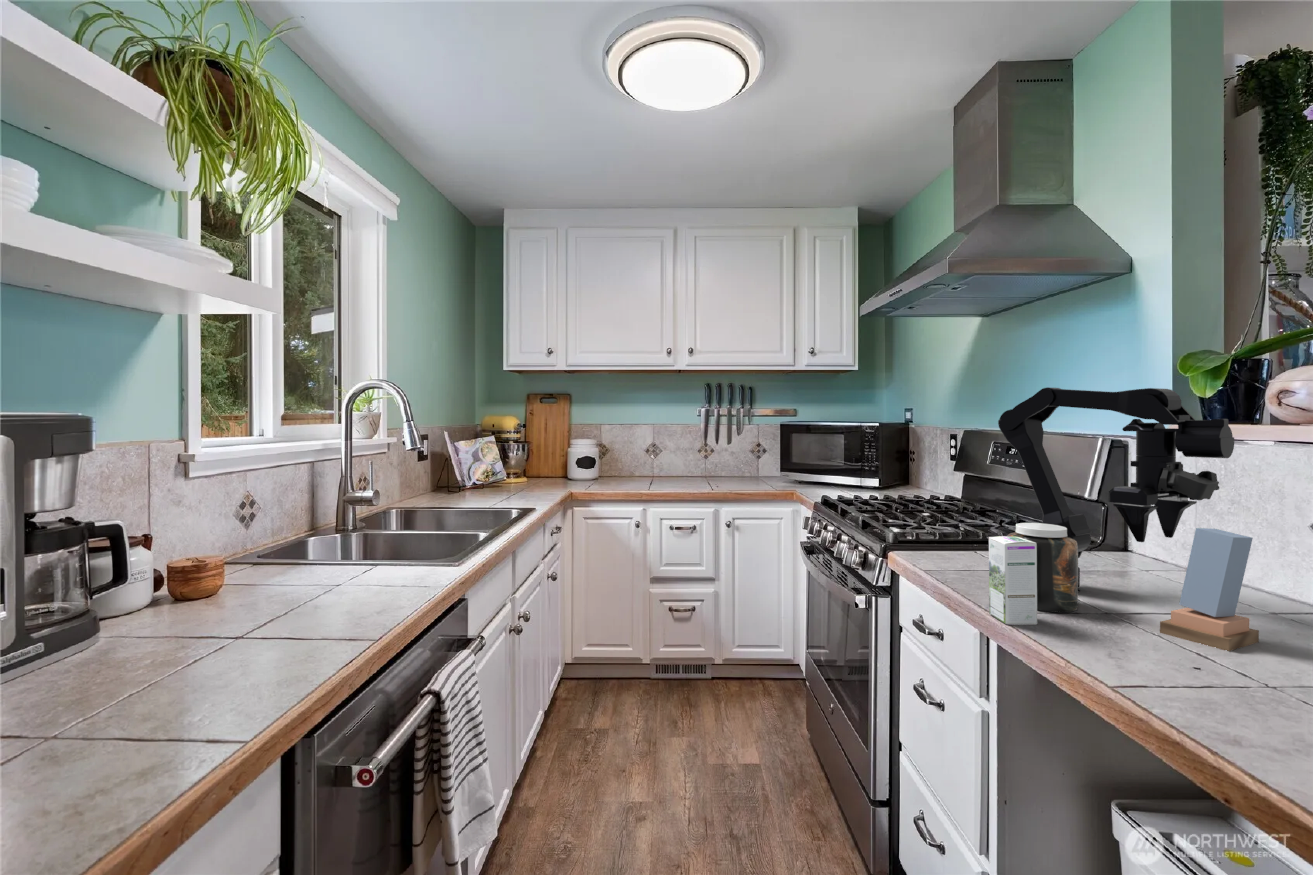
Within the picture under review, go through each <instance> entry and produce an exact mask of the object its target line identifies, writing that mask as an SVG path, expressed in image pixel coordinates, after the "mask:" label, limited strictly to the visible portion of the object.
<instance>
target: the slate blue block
mask: <svg viewBox="0 0 1313 875" xmlns="http://www.w3.org/2000/svg"><path fill="white" fill-rule="evenodd" d="M1252 543H1253V537H1252V536H1247V535H1244V534H1243V535H1242V534H1239V533H1235V532H1230V531H1227V530H1226V531H1225V530H1222V529H1217V528H1208V527H1207V528H1204V527H1203V528H1201V527H1200V528H1199V527H1197V528H1196V527H1195V530H1194V536H1193V540H1192V545H1191V550H1190V552H1189V553H1190V554H1189V559H1188V564H1187V568H1186V571H1185V577H1184V579H1183V580H1184V581H1183V585H1182V590H1181V595H1180V600H1179V603H1178V604H1179V605H1180V606H1182V607H1184V608H1191V609H1194V610H1196V611H1199V612H1202V613H1205V614H1208V615H1211V616H1213V617H1227V616H1235V615H1236V611H1237V608H1238V602H1239V598H1240V593H1241V591H1242V590H1241V589H1242V585H1243V581H1244V577H1245V573H1246V568H1247V564H1248V559H1249V556H1250V551H1251V547H1252Z"/></svg>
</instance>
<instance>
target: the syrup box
mask: <svg viewBox="0 0 1313 875" xmlns="http://www.w3.org/2000/svg"><path fill="white" fill-rule="evenodd" d="M988 598H989V599H988V600H989V603H988V609H989V610H988V612H989V614H988V615H990V616H991V617H993V618H994V619H997V620H998V621H1000V622H1001V623H1003V624H1005V625H1013V626H1018V625H1019V626H1025V625H1026V626H1029V625H1030V626H1032V625H1038V610H1037V543H1035V542H1032V541H1029V540H1026V539H1023V538H1020V537H1015V536H1007V535H1001V536H989V537H988Z"/></svg>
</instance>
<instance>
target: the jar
mask: <svg viewBox="0 0 1313 875" xmlns="http://www.w3.org/2000/svg"><path fill="white" fill-rule="evenodd" d="M1006 536H1015V537H1020V538H1023V539H1026V540H1029V541H1032V542H1035V543H1037V611H1040V612H1046V613H1048V612H1049V613H1070V612H1071V613H1072V612H1075V611H1078V607H1079V592H1078V588H1079V587H1078V567H1079V558H1078V545H1077V542H1076V540H1074V539H1072V538H1070V537H1067V536H1068V535H1067V528H1066V527H1063V526H1058V525H1052V524H1043V522H1042V523H1041V522H1040V523H1039V522H1020V523H1016V524H1015V532H1011V533H1008V534H1007V535H1006Z"/></svg>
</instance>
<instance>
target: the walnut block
mask: <svg viewBox="0 0 1313 875" xmlns="http://www.w3.org/2000/svg"><path fill="white" fill-rule="evenodd" d="M1159 633H1160V634H1162V635H1166V636H1170V637H1174V638H1179V639H1181V640H1185V641H1188V642H1193V643H1196V644H1199V643H1201V644H1200V645H1203V644H1204V646H1207V645H1208V646H1207V647H1211V648H1214V647H1216V648H1215V649H1218V650H1222V651H1225V650H1227V651H1226V652H1232V651H1234V650H1238V649H1240V647H1242V648H1244V647H1248V646H1251V645H1254V644H1258V643H1259V641H1260V637H1259V636H1260V635H1259V634H1260V631H1259V630H1258V629H1254V628H1251V627H1249V631H1246V632H1241V633H1237V634H1233V635H1229V636H1224V637H1222V636H1219V635H1215V634H1211V633H1207V632H1203V631H1200V630H1196V629H1192V628H1188V627H1185V626H1181V625H1177V624H1173V623H1171V618H1170V619H1165V620H1162V621H1160V622H1159ZM1237 648H1238V649H1237ZM1231 650H1232V651H1231Z"/></svg>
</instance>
